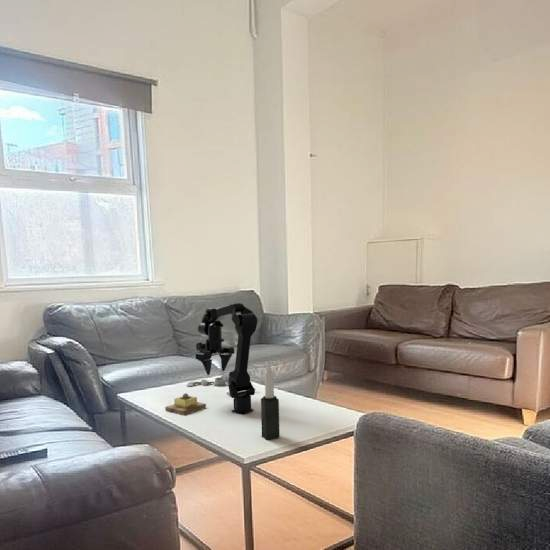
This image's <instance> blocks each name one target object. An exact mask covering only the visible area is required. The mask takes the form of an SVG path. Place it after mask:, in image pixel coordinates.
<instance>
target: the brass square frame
mask: <svg viewBox="0 0 550 550" xmlns="http://www.w3.org/2000/svg"><path fill="white" fill-rule="evenodd" d="M197 402H198V398H197V396H192V395H188V399H187V400H183V395H182V396H180V397H179V396H178V397H176V398H174V405H175V406H176V407H181V408H189V407H192V406H195V405H197Z"/></svg>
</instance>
